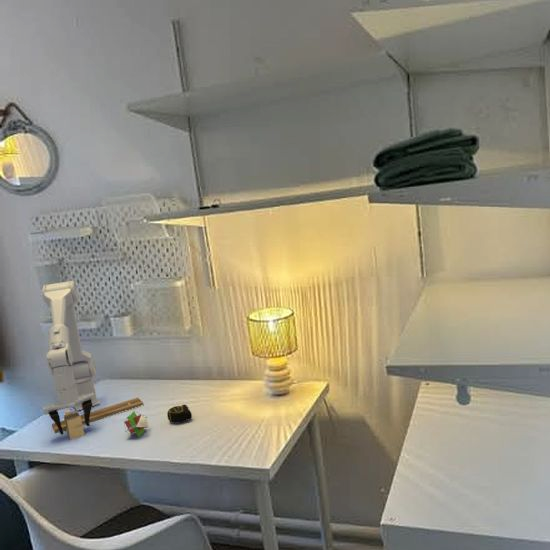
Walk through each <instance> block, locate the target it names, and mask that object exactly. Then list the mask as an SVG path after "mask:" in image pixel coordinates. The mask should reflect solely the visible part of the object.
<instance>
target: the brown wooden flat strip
mask: <svg viewBox="0 0 550 550" xmlns="http://www.w3.org/2000/svg"><path fill="white" fill-rule="evenodd" d="M141 405H143V406H144V402H143V401H142V400H141V399H140V398H139V397H136V398H135V397H134V398H132V399H128V400H126V401H122V402H119V403H115V404H113V405H109V406H107V407H102V408H100V409H95V410H93V411H92V410H91V412H90V418H89V423H92V422H95V421H98V420H101V418H102V419H104V417H105V418H108V417H111V416H113V414H114V415H117V414H116V413H118V414H120V413H119V412H121V413H123V412H122V411H124V412H126V411H125V410H127V411H129V409H130V410H133V409H136V408H135V407H137V408H139V407H138V406H140V407H142V406H141ZM132 408H133V409H132ZM79 415H80V417H81V421H82V425H83V426H84V425H86V423H85V418H84V413H83V414H79ZM110 415H111V416H110ZM107 416H108V417H107ZM60 423H61V427H62V430H63V432H64V431H67V430H66V425H65V420H64V419H63V420H60ZM51 426H52V427H51V428H52V429H53V431H54V433H55V434H56V433H60V431H59V429H58V427H57V425H56V423H55V422H53V423H51Z"/></svg>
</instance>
